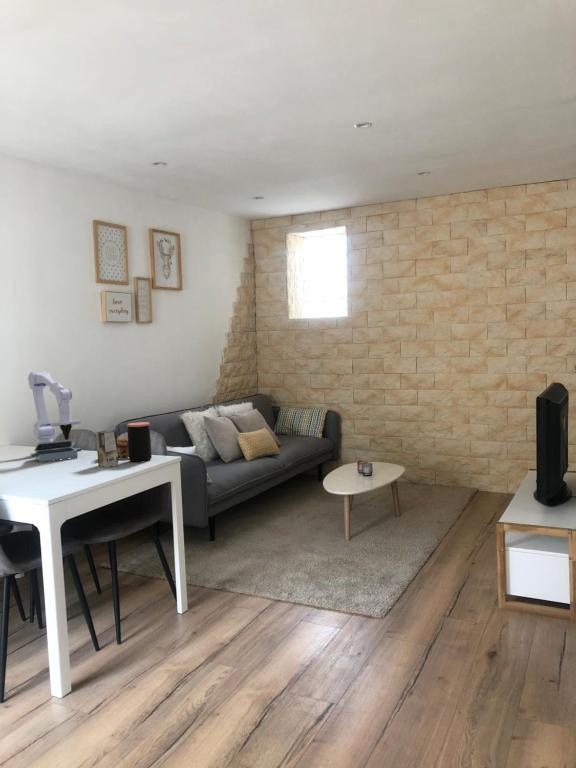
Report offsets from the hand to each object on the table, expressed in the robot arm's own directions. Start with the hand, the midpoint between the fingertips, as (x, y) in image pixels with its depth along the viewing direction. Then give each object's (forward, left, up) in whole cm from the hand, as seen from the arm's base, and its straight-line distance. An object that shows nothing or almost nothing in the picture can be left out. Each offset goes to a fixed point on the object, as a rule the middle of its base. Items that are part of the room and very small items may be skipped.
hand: (66, 439), depth 321 cm
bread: (+19, +23, -10) cm, 31 cm away
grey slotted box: (-3, -5, -10) cm, 11 cm away
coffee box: (+37, +11, -10) cm, 40 cm away
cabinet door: (-3, -5, -3) cm, 7 cm away
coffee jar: (+35, +27, -10) cm, 45 cm away
